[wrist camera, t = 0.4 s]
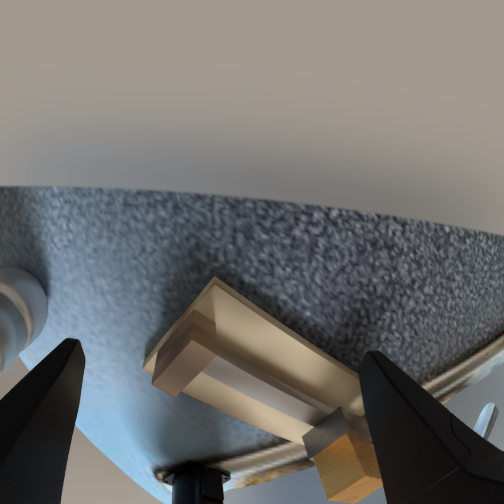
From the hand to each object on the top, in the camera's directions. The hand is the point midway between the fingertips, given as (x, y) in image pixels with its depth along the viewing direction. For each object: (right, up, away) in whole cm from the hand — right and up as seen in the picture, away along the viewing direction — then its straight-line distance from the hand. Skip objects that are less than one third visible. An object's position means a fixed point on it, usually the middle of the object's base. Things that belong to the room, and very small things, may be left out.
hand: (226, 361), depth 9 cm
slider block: (+9, -14, +19) cm, 25 cm away
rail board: (+4, -9, +20) cm, 22 cm away
